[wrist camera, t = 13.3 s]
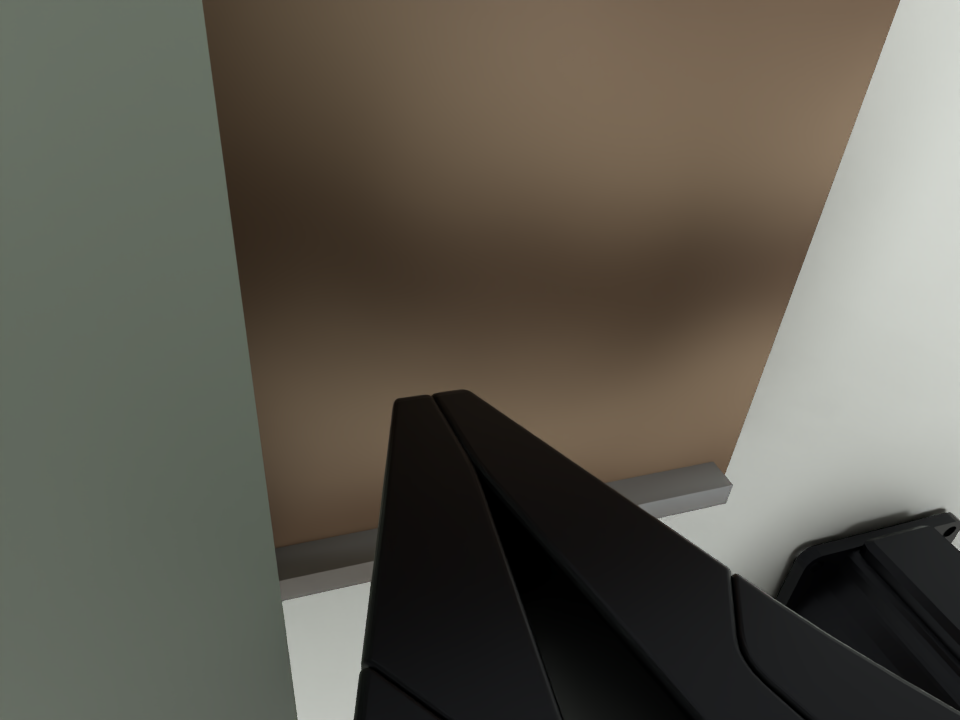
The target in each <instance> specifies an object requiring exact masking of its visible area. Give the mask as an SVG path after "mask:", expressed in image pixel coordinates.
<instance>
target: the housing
mask: <svg viewBox="0 0 960 720" xmlns="http://www.w3.org/2000/svg"><path fill="white" fill-rule="evenodd" d="M0 720H298V719H297V712H296V704H295V697H294V689H293V682H292V674H291V667H290V659H289V652H288V644H287V637H286V629H285V622H284V614H283V606H282V599H281V591H280V584H279V576H278V569H277V561H276V554H275V546H274V539H273V531H272V524H271V516H270V509H269V501H268V494H267V486H266V478H265V471H264V463H263V456H262V448H261V441H260V433H259V426H258V418H257V411H256V403H255V396H254V388H253V381H252V373H251V366H250V358H249V351H248V343H247V335H246V328H245V320H244V313H243V305H242V298H241V290H240V283H239V275H238V268H237V260H236V253H235V245H234V238H233V230H232V223H231V215H230V208H229V200H228V192H227V185H226V177H225V170H224V162H223V155H222V147H221V140H220V132H219V125H218V117H217V110H216V102H215V95H214V87H213V80H212V72H211V64H210V57H209V49H208V42H207V34H206V27H205V19H204V12H203V4H202V0H0Z"/></svg>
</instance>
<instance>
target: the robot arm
mask: <svg viewBox="0 0 960 720" xmlns="http://www.w3.org/2000/svg"><path fill="white" fill-rule="evenodd" d="M959 531H960V520H959V519H958V518H957V517H956V516H954V515H953V514H952V513H950V512H949V513H943V514H939V515H935V516H931V517H927V518H923V519H919V520H915V521H911V522H908V523H904V524H900V525H896V526H892V527H888V528H884V529H880V530H876V531H872V532H868V533H864V534H860V535H856V536H852V537H848V538H844V539H840V540H836V541H832V542H828V543H824V544H820V545H816V546H813V547H810V548H808V549H806V550H805V551H803V552H802V553H801V554H800V555H799V556H798V557H797V559H796V560H795V562H794V564H793V566H792V568H791V570H790V572H789V574H788V576H787V578H786V580H785V582H784V584H783V586H782V588H781V590H780V592H779V594H778V596H777V599H774V598H772V597H771V596H770V595H768V594H767V593H765V592H764V591H762V590H761V589H759V588H758V587H756V586H755V585H753V584H752V583H751V582H749V581H748V580H746V579H745V578H743V577H742V576H740V575H739V574H733V575H732V576H731V571H730V569H729V568H728V567H727V566H725V565H724V564H722V563H721V562H719V561H718V560H716V559H715V558H714V557H712V556H711V555H709V554H708V553H706V552H705V551H703V550H702V549H700V548H699V547H697V546H696V545H695V544H693V543H692V542H690V541H689V540H687V539H686V538H684V537H683V536H681V535H680V534H678V533H677V532H676V531H674V530H673V529H671V528H670V527H668V526H667V525H665V524H664V523H662V522H661V521H659V520H658V519H657V518H655V517H654V516H652V515H651V514H649V513H648V512H646V511H645V510H643V509H642V508H640V507H639V506H638V505H636V504H635V503H633V502H632V501H630V500H629V499H627V498H626V497H624V496H623V495H621V494H620V493H619V492H617V491H616V490H614V489H613V488H611V487H610V486H608V485H607V484H605V483H604V482H603V481H601V480H600V479H598V478H597V477H595V476H594V475H592V474H591V473H589V472H588V471H586V470H585V469H584V468H582V467H581V466H579V465H578V464H576V463H575V462H573V461H572V460H570V459H569V458H567V457H566V456H565V455H563V454H562V453H560V452H559V451H557V450H556V449H554V448H553V447H551V446H550V445H548V444H547V443H546V442H544V441H543V440H541V439H540V438H538V437H537V436H535V435H534V434H532V433H531V432H529V431H528V430H527V429H525V428H524V427H522V426H521V425H519V424H518V423H516V422H515V421H513V420H512V419H510V418H509V417H508V416H506V415H505V414H503V413H502V412H500V411H499V410H497V409H496V408H494V407H493V406H491V405H490V404H489V403H487V402H486V401H484V400H483V399H481V398H480V397H478V396H477V395H475V394H474V393H472V392H471V391H469V390H466V389H459V390H452V391H445V392H438V393H434V394H433V395H431V396H430V395H427V394H424V395H417V396H410V397H403V398H398V399H396V400H395V401H394V403H393V408H392V416H391V424H390V432H389V441H388V449H387V457H386V465H385V473H384V481H383V490H382V498H381V506H380V514H379V522H378V530H377V539H376V547H375V555H374V563H373V571H372V579H371V587H370V596H369V604H368V612H367V620H366V628H365V636H364V645H363V653H362V661H361V672H360V674H359V681H358V689H357V697H356V706H355V714H354V720H960V551H959V550H958V549H957V548H955V547H954V546H953V545H952V544H951V543H952V541H953V540H954V538H955V537H956V535H957V534H958V532H959Z"/></svg>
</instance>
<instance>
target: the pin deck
mask: <svg viewBox="0 0 960 720" xmlns="http://www.w3.org/2000/svg"><path fill="white" fill-rule="evenodd" d="M899 2H900V0H202V4H203V12H204V19H205V27H206V34H207V42H208V49H209V57H210V64H211V72H212V80H213V87H214V95H215V102H216V110H217V117H218V125H219V132H220V140H221V147H222V155H223V162H224V170H225V177H226V185H227V192H228V200H229V208H230V215H231V223H232V230H233V238H234V245H235V253H236V260H237V268H238V275H239V283H240V290H241V298H242V305H243V313H244V320H245V328H246V335H247V343H248V351H249V358H250V366H251V373H252V381H253V388H254V396H255V403H256V411H257V418H258V426H259V433H260V441H261V448H262V456H263V463H264V471H265V478H266V486H267V494H268V501H269V509H270V516H271V524H272V531H273V539H274V546H275V554H276V561H277V569H278V576H279V584H280V591H281V599H282V601H284V600H289V599H293V598H298V597H302V596H307V595H311V594H316V593H321V592H325V591H330V590H334V589H339V588H343V587H348V586H352V585H357V584H361V583H366V582H371V579H372V571H373V563H374V555H375V547H376V539H377V530H378V522H379V514H380V506H381V498H382V490H383V481H384V473H385V465H386V457H387V449H388V441H389V432H390V424H391V416H392V408H393V403H394V401H395V400H396V399H398V398H403V397H410V396H417V395H424V394H427V395H430V396H431V395H433V394H434V393H438V392H445V391H452V390H459V389H466V390H469V391H471V392H472V393H474V394H475V395H477V396H478V397H480V398H481V399H483V400H484V401H486V402H487V403H489V404H490V405H491V406H493V407H494V408H496V409H497V410H499V411H500V412H502V413H503V414H505V415H506V416H508V417H509V418H510V419H512V420H513V421H515V422H516V423H518V424H519V425H521V426H522V427H524V428H525V429H527V430H528V431H529V432H531V433H532V434H534V435H535V436H537V437H538V438H540V439H541V440H543V441H544V442H546V443H547V444H548V445H550V446H551V447H553V448H554V449H556V450H557V451H559V452H560V453H562V454H563V455H565V456H566V457H567V458H569V459H570V460H572V461H573V462H575V463H576V464H578V465H579V466H581V467H582V468H584V469H585V470H586V471H588V472H589V473H591V474H592V475H594V476H595V477H597V478H598V479H600V480H601V481H603V482H604V483H605V484H607V485H608V486H610V487H611V488H613V489H614V490H616V491H617V492H619V493H620V494H621V495H623V496H624V497H626V498H627V499H629V500H630V501H632V502H633V503H635V504H636V505H638V506H639V507H640V508H642V509H643V510H645V511H646V512H648V513H649V514H651V515H652V516H654V517H655V518H661V517H666V516H670V515H675V514H679V513H684V512H688V511H693V510H698V509H702V508H707V507H711V506H716V505H720V504H725V503H726V502H727V499H728V496H729V494H730V491H731V488H732V486H733V484H732V483H731V482H730V481H729V480H728V479H727V477H726V476H725V473H726V470H727V467H728V465H729V462H730V459H731V456H732V454H733V451H734V448H735V446H736V443H737V440H738V437H739V435H740V432H741V429H742V427H743V424H744V421H745V419H746V416H747V413H748V410H749V408H750V405H751V402H752V400H753V397H754V394H755V392H756V389H757V386H758V383H759V381H760V378H761V375H762V373H763V370H764V367H765V364H766V362H767V359H768V356H769V354H770V351H771V348H772V346H773V343H774V340H775V337H776V335H777V332H778V329H779V327H780V324H781V321H782V318H783V316H784V313H785V310H786V308H787V305H788V302H789V300H790V297H791V294H792V291H793V289H794V286H795V283H796V281H797V278H798V275H799V273H800V270H801V267H802V264H803V262H804V259H805V256H806V254H807V251H808V248H809V245H810V243H811V240H812V237H813V235H814V232H815V229H816V227H817V224H818V221H819V218H820V216H821V213H822V210H823V208H824V205H825V202H826V199H827V197H828V194H829V191H830V189H831V186H832V183H833V181H834V178H835V175H836V172H837V170H838V167H839V164H840V162H841V159H842V156H843V154H844V151H845V148H846V145H847V143H848V140H849V137H850V135H851V132H852V129H853V126H854V124H855V121H856V118H857V116H858V113H859V110H860V108H861V105H862V102H863V99H864V97H865V94H866V91H867V89H868V86H869V83H870V80H871V78H872V75H873V72H874V70H875V67H876V64H877V62H878V59H879V56H880V53H881V51H882V48H883V45H884V43H885V40H886V37H887V35H888V32H889V29H890V26H891V24H892V21H893V18H894V16H895V13H896V10H897V7H898V5H899Z"/></svg>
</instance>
